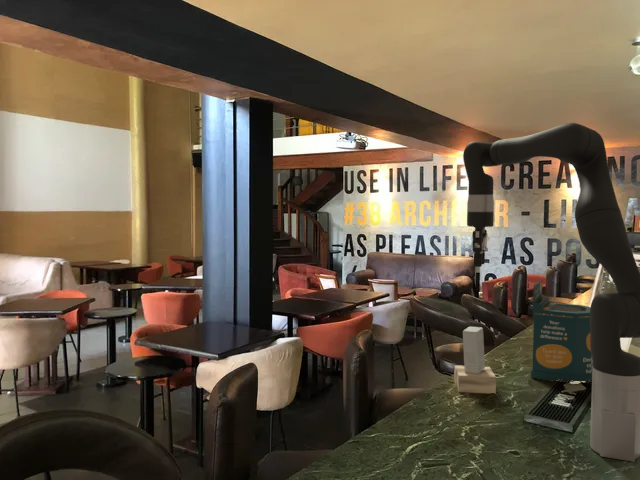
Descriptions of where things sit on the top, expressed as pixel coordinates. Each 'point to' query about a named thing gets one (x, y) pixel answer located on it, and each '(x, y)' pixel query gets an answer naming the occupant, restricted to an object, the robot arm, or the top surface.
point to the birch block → (475, 380)
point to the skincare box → (473, 350)
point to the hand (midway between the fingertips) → (479, 265)
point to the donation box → (560, 340)
